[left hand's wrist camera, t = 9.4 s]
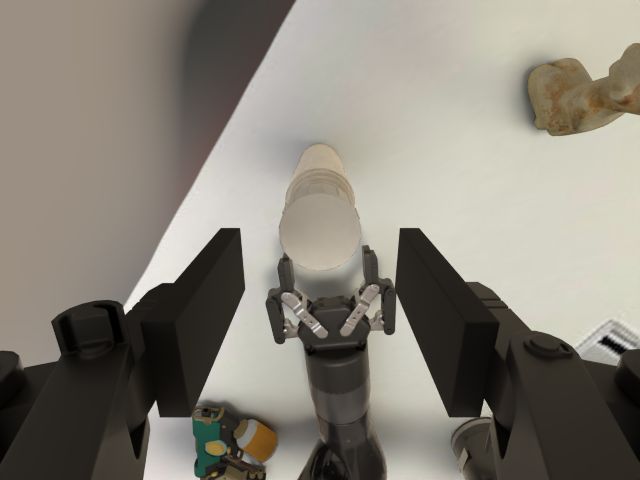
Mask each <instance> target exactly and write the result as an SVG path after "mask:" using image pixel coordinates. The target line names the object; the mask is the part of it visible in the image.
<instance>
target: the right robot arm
mask: <svg viewBox="0 0 640 480" xmlns="http://www.w3.org/2000/svg"><path fill="white" fill-rule="evenodd" d="M362 257H363V272H364V278H365V279H364V281H363V282H362V284H361V285H360V286H359V288H356V289H355V291H354V292H353V293H352V295H351V296H350V297H349V299H348V298H344V296H337V297H334V298H317V300H316V301H313V300H312V299H311V298H310V297H308V296H307V295H306V294H305V293H302V292H301V291H299V290H298V289H297V288H296V287H295V286H294V282H295V279H294V272H293V265H292V260H291V259H290V258H289V257H288V255H287V254H286V253H284V255H283V258H280V261H279V265H278V274H279V280H280V287H279V288H277V289H274V288H273V289H270V290H269V293H268V298H267V300H266V308H267V312H268V316H269V320H270V324H271V328H272V332H273V336H274V340H275V342H276V343H277V344H283V343H284V342H285V339H287V338H294V337H299V338H300V339H301V341H302V342H303V345H304V351H305V358H306V365H307V372H308V378H309V385H310V392H311V396H312V400H313V403H314V406H315V413H316V420H317V427H318V431H319V435H320V437H321V438H320V439H319V440H318V442H317V443H316V445H315V447H314V449H313V451H312V453H311V455H310V457H309V459H308V461H307V463H306V465H305V467H304V468H303V470H302V472H301V474H300V475H299V477H298V479H297V480H387V466H386V460H385V456H384V453H383V450H382V448H381V445H380V443H379V440H378V438H377V435H376V433H375V430H374V428H373V426H372V424H371V419H370V405H369V397H370V375H369V374H370V373H369V360H368V345H367V337H368V334H369V333H370V331H375V330H384V332H385V334H387V335H392V334H393V333H394V332H395V314H396V291H395V288H394V285H393V283H392V281H391V280H390V279H389V278H386V279H381V278H379V277H378V263H377V257H376V254H375V252H374V250H370V248H369V246H368V245H365V246H362ZM377 293H378V294H381V310H378V311H377V312H376V313H375V317H374V318H373V319H370V320H369V318H368V317H367V316H366V315H365V312H366V311H367V310H368V308H369V305H370V303H371V301H372V300H373V299H374V297H375V296H376V295H377ZM282 302H285V303H286V304H287V305H288V306H289V307H290V308H291V309H292V310H293V311H294V313H295V315H296V316H297V317H298V318H299V319H300V320H301V321H300V322H299V324H298V326H295V325H293V324H292V323H291V321H290V320H289V319H288V318H286V319H285V316H284V312H283V308H282ZM490 424H491V419H490V418H483V419H477V420H473V421H470V422H468V423H466V424H464V425H463V426H462V427H460V428H459V429H458V430H457V431H456V433H455V434H454V436H453V438H452V449H453V451H454V454H455V456H456V457H457V460H458V464H457V465H458V467H459V470H460V472H463V475H464V477H465V480H497V475H496V468H495V461H494V455H493V448H492V447H491V451H490V455H488V454H485V446H486V441H487V437H488V432H489V428H490Z"/></svg>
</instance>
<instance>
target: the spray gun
mask: <svg viewBox="0 0 640 480" xmlns="http://www.w3.org/2000/svg"><path fill="white" fill-rule="evenodd" d="M197 409H202V411H198V412H196V413H194V412H195V411H196V410H197ZM214 411H218V412H219V413H218V412H215V413H214ZM192 420H193V435H194V436H195V440H196V452H197V454H198V458H197V459H196V461H195V464H194V471H195V476H196V477H199V478H200V480H266V473H264V471H263V469H262V468H260V469H259V470H258V471H256V469H255V468H254V467H253V466H252V465H251V464H248V463H246V462H244V461H242V460H241V459H242V457H243V452H244V451H245V452H247V453H248V454H250V455H251V456H253V457H254V458H256V459H257V460H259V461H260V462H265V461H267V460H268V459H270V458H271V457H272V455H273V454H274V453H275V451H276V448H277V446H278V436H277V434H276V433H275V432H273V431H272V430H270V429H269V428H267V427H266V426H264V425H263V424H261V423H260V422H258V421H256V420H253V419H250V420H246V419H243V420H241V421H240V422H239V420H238V419H236V418H235V417H234V416H232V415H231V414H230V413H229V412H227V411H226V410H225V409H224V408H223V407H221V408H220V409H217V408H210V407H202V406H197V407H195V409H194V411H193V413H192ZM233 430H234V434H233ZM238 446H239V447H238ZM238 451H241V453H240V457H239V458H238V456H237V454H238ZM231 455H232V457H233V458H232V457H231ZM224 456H228V459H229V460H230V461H232V462H236V463H237V464H239V465H241V466H242V467H245V468H247V469H249V470H250V471H248V470H246V471H244V472H242V471H240V470H238V469H236V468H234V467H232V466H230V465H228V464H229V462H225V461H223V460H222V459H221V457H224Z"/></svg>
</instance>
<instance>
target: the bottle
mask: <svg viewBox="0 0 640 480" xmlns="http://www.w3.org/2000/svg"><path fill="white" fill-rule="evenodd" d="M317 183H324V184H329V185H332V186H335V187H338V188H339V189H340V190H342V191H343V192H344V193H345V194H347V196H350V199H351V201H352V203H353V205H355V198H354V193H353V190H352V187H351V185H350V182H349V180H348V178H347V175H346V173H345V171H344V168H343V166H342V164H341V161H340V159H339V157H338V154H337V153H336V151H335V150H334V149H333V148H331V147H330V146H328V145H325V144H315V145H312V146H310V147H308V148H307V149H306V150H305V151H304V153H303V154H302V156H301V159H300V161H299V164H298V166H297V168H296V171H295V173H294V175H293V178H292V180H291V182H290V185H289V187H288V190H287V193H286V197H285V205H286V203H288V201H289V199H290V198H291V197H292V196H293V194H294V192H295V191H296V192H297V191H298V190H300V189H301V188H303V187H305V186H307V185H308V184H309V185H311V184H317Z"/></svg>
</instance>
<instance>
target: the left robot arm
mask: <svg viewBox="0 0 640 480" xmlns="http://www.w3.org/2000/svg"><path fill="white" fill-rule="evenodd" d="M244 291H245V281H244V269H243V258H242V246H241V234H240V228H221V229H220V230H219V231H218V232H217V233H216V234H215V236H214V237H213V238H212V239H211V240H210V241H209V243H208V244H207V245H206V246H205V247H204V248H203V250H202V251H201V252H200V253H199V254H198V255H197V257H196V258H195V259H194V260H193V261H192V262H191V264H190V265H189V266H188V267H187V268H186V269H185V271H184V272H183V273H182V274H181V275H180V276H179V277H178V279H177V280H176V281H175V282H174V283H162V284H160V285H158V286H157V287H155V288H153V289H151V290H149V291H148V292H147V293H146V294H145V295H144V296H143V297H142V298H141V299H140V302H137V303H136V304H135V305H134V307H133V308H132V310H130V311H129V312H128V313H127V314H126V315H125V313H124V309H123V305H122V304H120V303H119V302H117V301H111V300H100V301H93V302H88V303H84V304H81V305H78V306H75V307H72V308H70V309H68V310H66V311H64V312H62V313H61V314H59V315H58V316H56V317H55V318H54V319H53V320H52V321H51V323H52V326H53V329H54V332H55V335H56V339H57V342H58V345H59V348H60V351H61V356H60V358H59V360H58V361H56V362H51V363H46V364H41V365H36V366H31V367H25V368H23V366H22V363H21V360H20V357H19V355H17V354H16V353H14V352H12V351H0V480H143V476H144V469H145V462H146V455H147V449H148V442H149V435H150V424H149V419H148V413H149V411H150V409H151V408H152V406H153V404H154V402H155V401H157V406H158V411H159V415H160V417H191V416H192V413H193V411H194V409H195V406H196V404H197V401H198V399H199V397H200V394H201V392H202V390H203V387H204V385H205V383H206V380H207V378H208V376H209V373H210V371H211V368H212V366H213V364H214V361H215V359H216V357H217V354H218V352H219V350H220V347H221V345H222V343H223V340H224V338H225V336H226V333H227V331H228V328H229V326H230V324H231V321H232V319H233V317H234V314H235V312H236V310H237V307H238V305H239V303H240V300H241V298H242V295H243V293H244ZM395 291H396V293H397V295H398V298H399V300H400V303H401V305H402V307H403V310H404V312H405V314H406V317H407V319H408V321H409V324H410V326H411V328H412V331H413V333H414V336H415V338H416V340H417V343H418V345H419V347H420V350H421V352H422V354H423V357H424V359H425V361H426V364H427V366H428V368H429V371H430V373H431V376H432V378H433V380H434V383H435V385H436V387H437V390H438V392H439V394H440V397H441V399H442V401H443V404H444V406H445V409H446V411H447V413H448V416H449V417H480V415H481V411H482V406H483V401H484V399H485V401H486V402H487V404H488V406H489V407H490V409H491V411H492V413H493V415H492V419H491V424H490V428H489V432H488V437H487V441H486V446H485V454H488V455H490V451H491V447H492V448H493V455H494V461H495V468H496V475H497V480H640V349H632V350H627V351H625V352H624V353H622V355H621V357H620V360H619V363H618V366H613V365H608V364H603V363H597V362H592V361H587V360H583V359H581V358H580V356H579V354H578V353H577V352H576V351H575V350H574V348H573V347H572V346H570V345H569V344H567V343H566V342H564V341H563V340H561V339H559V338H556V337H554V336H552V335H550V334H546V333H542V332H538V331H531V330H530V329H529V328H528V327H527V326H526V325H525V323H524V322H523V321H522V320H521V319H520V318H519V317H518V316H517V315H516V314H515V313H514V312H513V311H512V310H511V309H508V306H507V305H506V304H505V303H504V302H503V301H501V299H500V298H499V297H498V296H497V295H496V294H495V293H494V292H493V291H492V290H491V289H489V288H488V287H486V286H484V285H482V284H480V283H479V282H465V281H464V280H463V279H462V277H461V276H460V275H459V274H458V273H457V272H456V271H455V269H454V268H453V267H452V266H451V265H450V264H449V262H448V261H447V260H446V259H445V258H444V257H443V255H442V254H441V253H440V252H439V251H438V250H437V248H436V247H435V246H434V245H433V244H432V243H431V241H430V240H429V239H428V238H427V237H426V236H425V234H424V233H423V232H422V231H421V230H420V229H419V228H400V234H399V246H398V258H397V269H396V281H395Z"/></svg>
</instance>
